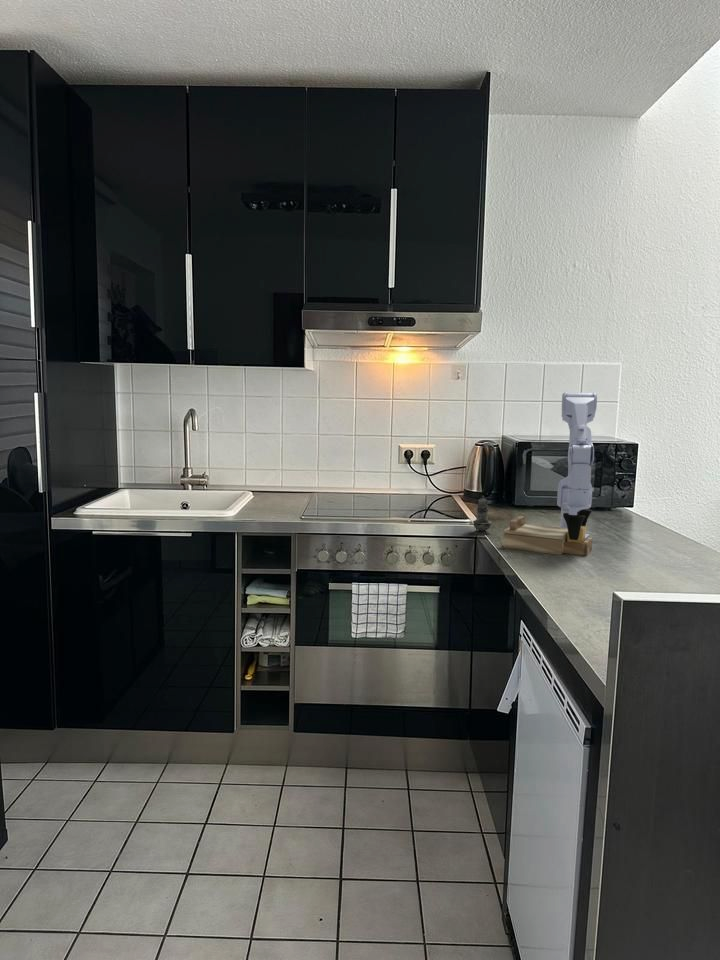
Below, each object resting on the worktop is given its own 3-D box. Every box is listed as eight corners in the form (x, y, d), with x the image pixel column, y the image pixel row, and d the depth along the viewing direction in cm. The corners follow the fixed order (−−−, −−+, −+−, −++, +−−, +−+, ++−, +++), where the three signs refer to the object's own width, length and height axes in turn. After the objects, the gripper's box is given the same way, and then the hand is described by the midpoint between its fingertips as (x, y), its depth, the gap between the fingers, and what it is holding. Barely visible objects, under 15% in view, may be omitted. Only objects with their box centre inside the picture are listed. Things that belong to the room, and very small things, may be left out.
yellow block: (569, 549, 184) (571, 524, 183) (584, 551, 182) (585, 526, 181) (566, 552, 180) (568, 527, 180) (581, 553, 179) (583, 528, 178)
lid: (516, 525, 195) (516, 514, 195) (571, 531, 188) (572, 520, 187) (503, 533, 184) (504, 521, 184) (561, 539, 176) (562, 527, 176)
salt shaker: (478, 530, 209) (479, 493, 208) (494, 532, 206) (496, 495, 204) (468, 533, 205) (469, 495, 203) (485, 535, 201) (486, 497, 200)
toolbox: (515, 539, 196) (516, 526, 195) (593, 548, 185) (594, 534, 185) (503, 547, 185) (503, 533, 184) (584, 557, 174) (585, 543, 173)
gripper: (569, 484, 187) (567, 531, 189) (558, 490, 175) (555, 540, 176) (595, 486, 184) (592, 533, 186) (585, 492, 171) (582, 543, 173)
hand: (576, 537), depth 181 cm, fingers open, 7 cm apart
